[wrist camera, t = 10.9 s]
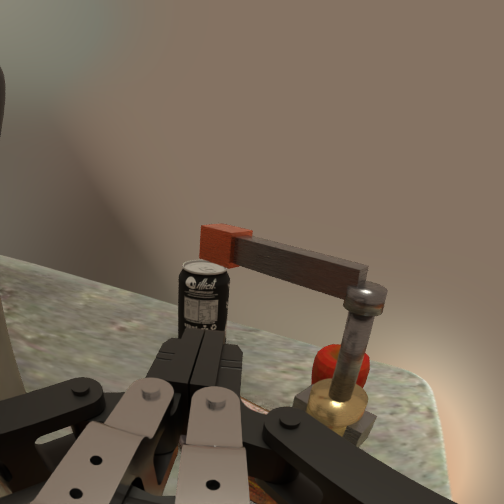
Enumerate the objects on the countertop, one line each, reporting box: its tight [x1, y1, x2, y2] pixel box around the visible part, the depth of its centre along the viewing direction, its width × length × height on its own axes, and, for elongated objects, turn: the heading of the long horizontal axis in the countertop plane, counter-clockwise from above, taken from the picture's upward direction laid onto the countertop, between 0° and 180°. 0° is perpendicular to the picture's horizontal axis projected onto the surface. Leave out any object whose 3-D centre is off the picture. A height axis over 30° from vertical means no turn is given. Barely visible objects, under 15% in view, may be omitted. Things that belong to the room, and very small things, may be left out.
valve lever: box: [199, 224, 387, 316], centre depth 26 cm, size 18×3×3 cm, turn 50°
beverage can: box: [178, 260, 230, 342], centre depth 41 cm, size 7×7×12 cm
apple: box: [312, 344, 370, 388], centre depth 31 cm, size 6×6×8 cm
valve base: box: [292, 311, 377, 448], centre depth 23 cm, size 7×5×15 cm
